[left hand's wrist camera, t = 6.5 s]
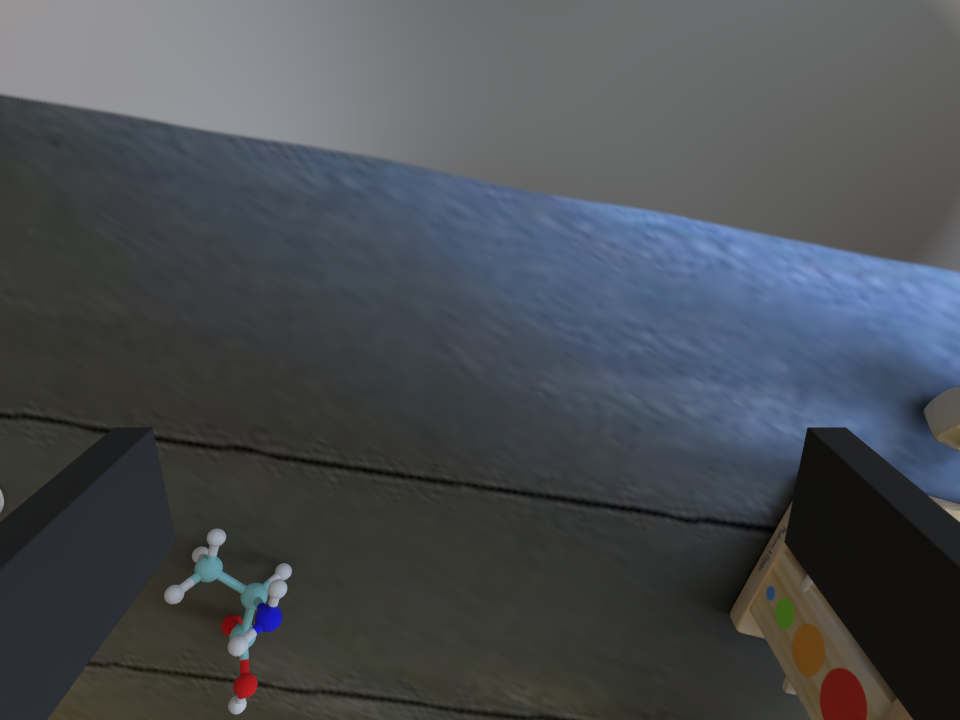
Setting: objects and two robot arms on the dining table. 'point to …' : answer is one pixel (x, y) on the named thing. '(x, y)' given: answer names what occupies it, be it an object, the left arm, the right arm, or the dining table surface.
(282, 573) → the molecular model
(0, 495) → the jar
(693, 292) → the dining table surface
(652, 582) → the dining table surface
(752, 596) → the pounding bench toy
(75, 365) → the dining table surface
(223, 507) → the dining table surface
